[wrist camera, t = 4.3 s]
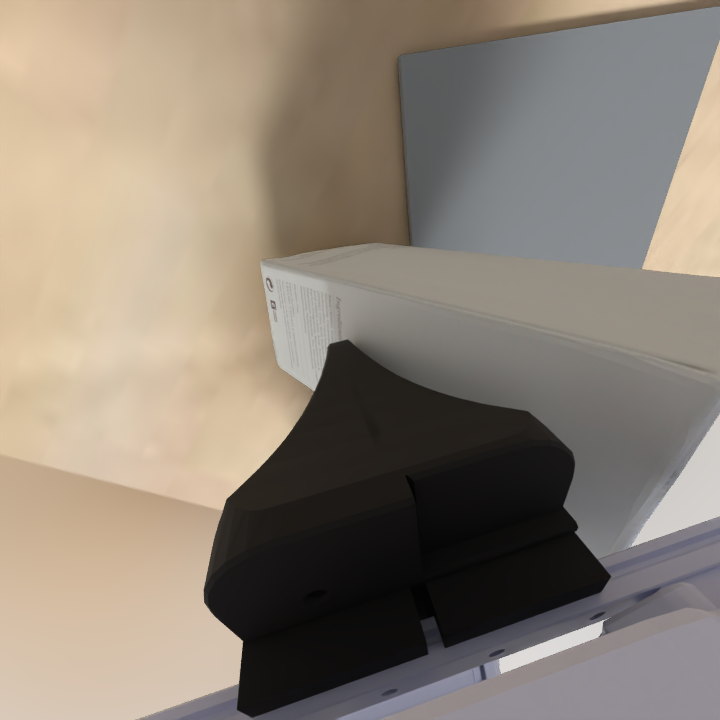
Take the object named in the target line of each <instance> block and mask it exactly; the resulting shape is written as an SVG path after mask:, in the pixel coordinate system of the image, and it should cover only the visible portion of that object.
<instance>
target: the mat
mask: <svg viewBox="0 0 720 720" xmlns="http://www.w3.org/2000/svg"><path fill="white" fill-rule="evenodd" d="M719 40H720V6H717V7H711V8H704V9H698V10H691V11H685V12H678V13H672V14H665V15H659V16H652V17H646V18H639V19H633V20H626V21H620V22H613V23H607V24H600V25H594V26H587V27H581V28H574V29H567V30H561V31H554V32H548V33H541V34H535V35H528V36H522V37H515V38H509V39H502V40H496V41H489V42H483V43H476V44H470V45H463V46H457V47H450V48H444V49H437V50H431V51H424V52H418V53H411V54H405V55H400V56H399V57H398V70H399V84H400V99H401V114H402V129H403V144H404V159H405V174H406V188H407V203H408V218H409V233H410V246H412V247H422V248H433V249H442V250H452V251H462V252H472V253H482V254H492V255H501V256H511V257H521V258H531V259H541V260H551V261H561V262H571V263H581V264H591V265H601V266H612V267H622V268H633V269H642V266H643V263H644V260H645V257H646V254H647V252H648V249H649V246H650V243H651V240H652V237H653V234H654V231H655V228H656V225H657V222H658V219H659V216H660V213H661V210H662V207H663V204H664V202H665V199H666V196H667V193H668V190H669V187H670V184H671V181H672V178H673V175H674V172H675V169H676V166H677V163H678V160H679V157H680V155H681V152H682V149H683V146H684V143H685V140H686V137H687V134H688V131H689V128H690V125H691V122H692V119H693V116H694V113H695V110H696V108H697V105H698V102H699V99H700V96H701V93H702V90H703V87H704V84H705V81H706V78H707V75H708V72H709V69H710V66H711V63H712V60H713V58H714V55H715V52H716V49H717V46H718V43H719Z"/></svg>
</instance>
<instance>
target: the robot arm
mask: <svg viewBox="0 0 720 720" xmlns="http://www.w3.org/2000/svg"><path fill="white" fill-rule="evenodd" d="M574 470H575V459H574V455H573V452H572V451H571V450H570V449H569V448H568V447H567V446H566V445H565V444H564V443H563V442H562V441H561V440H560V439H559V438H558V437H557V436H556V435H555V434H554V433H553V432H551V431H550V430H549V429H548V428H547V427H546V426H545V425H544V424H543V423H542V422H540V421H539V420H538V419H537V418H536V417H535V416H533V415H532V414H531V413H530V412H528V411H524V410H518V409H512V408H506V407H500V406H494V405H488V404H483V403H478V402H474V401H470V400H465V399H461V398H457V397H454V396H450V395H447V394H444V393H441V392H438V391H435V390H432V389H429V388H426V387H423V386H421V385H418V384H416V383H414V382H411V381H409V380H407V379H405V378H403V377H400V376H399V375H397V374H395V373H393V372H391V371H390V370H388V369H386V368H385V367H383V366H382V365H380V364H379V363H377V362H376V361H374V360H373V359H371V358H370V357H369V356H367V355H366V354H365V353H363V352H362V351H361V350H360V349H359V348H357V347H356V346H355V345H354V344H353V343H352V342H351V341H349V340H348V339H347V340H343V341H339V342H335V343H331V344H329V346H328V347H327V356H326V360H325V364H324V367H323V371H322V374H321V377H320V379H319V382H318V384H317V386H316V389H315V391H314V394H313V396H312V398H311V400H310V402H309V403H308V405H307V407H306V409H305V411H304V412H303V414H302V416H301V417H300V419H299V420H298V422H297V423H296V425H295V426H294V428H293V429H292V431H291V432H290V433H289V435H288V436H287V437H286V439H285V440H284V441H283V442H282V444H281V445H280V446H279V447H278V448H277V450H276V451H275V452H274V453H273V454H272V455H271V456H270V457H269V459H268V460H267V461H266V462H265V463H264V464H263V465H262V466H261V467H260V468H259V469H258V470H257V471H256V472H255V473H254V474H253V475H252V476H251V477H250V478H249V479H248V480H247V481H246V482H245V483H244V484H242V485H241V486H240V487H239V488H238V489H237V490H236V491H235V492H234V493H233V494H232V495H231V496H230V497H229V498H227V500H226V503H225V506H224V510H223V513H222V516H221V519H220V521H219V524H218V528H217V531H216V535H215V539H214V542H213V547H212V552H211V557H210V562H209V567H208V572H207V577H206V582H205V587H204V603H205V604H206V606H207V607H208V608H209V610H210V611H211V613H212V614H213V615H214V616H215V617H216V618H217V619H218V620H220V621H221V622H222V623H223V624H224V625H226V627H228V628H229V629H230V630H231V631H232V632H233V633H235V634H236V635H237V636H238V637H239V638H240V639H241V640H243V648H242V660H241V669H240V681H239V684H237V685H234V686H232V687H229V688H226V689H223V690H220V691H217V692H214V693H211V694H208V695H206V696H203V697H200V698H197V699H194V700H191V701H189V702H185V703H183V704H180V705H177V706H174V707H171V708H168V709H165V710H163V711H160V712H157V713H154V714H151V715H148V716H145V717H143V718H140V719H137V720H720V517H717V518H714V519H711V520H708V521H705V522H702V523H700V524H697V525H694V526H691V527H688V528H685V529H682V530H679V531H677V532H674V533H671V534H668V535H665V536H662V537H659V538H656V539H654V540H651V541H648V542H645V543H642V544H639V545H636V546H634V547H631V548H628V549H625V550H622V551H619V552H616V553H613V554H610V555H608V556H605V557H602V558H599V559H597V558H596V557H595V556H594V555H593V553H592V552H591V551H590V550H589V549H588V547H587V546H586V545H585V544H584V543H583V541H582V540H581V539H580V538H579V537H578V535H577V534H576V533H575V531H577V529H578V525H577V522H576V521H575V520H574V518H573V517H572V516H571V515H570V514H569V513H568V511H567V510H566V509H565V508H564V507H563V505H564V502H565V499H566V497H567V494H568V491H569V488H570V485H571V482H572V480H573V475H574ZM610 617H611V618H610ZM608 618H609V619H608ZM605 619H607V620H606V621H604V622H603V629H602V633H601V635H600V636H599V637H598V638H596V639H593V640H590V641H588V642H585V643H582V644H580V645H577V646H575V647H572V648H569V649H567V650H564V651H561V652H558V653H556V654H553V655H550V656H548V657H545V658H543V659H540V660H537V661H535V662H532V663H530V664H527V665H524V666H521V667H519V668H516V669H513V670H511V671H508V672H505V673H503V674H501V672H500V669H499V659H500V658H502V657H505V656H508V655H510V654H513V653H516V652H518V651H521V650H524V649H527V648H529V647H532V646H535V645H537V644H540V643H543V642H545V641H548V640H551V639H553V638H556V637H559V636H562V635H564V634H567V633H570V632H572V631H575V630H578V629H581V628H583V627H586V626H589V625H591V624H594V623H597V622H599V621H602V620H605Z"/></svg>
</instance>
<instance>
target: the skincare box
mask: <svg viewBox="0 0 720 720" xmlns="http://www.w3.org/2000/svg"><path fill="white" fill-rule="evenodd" d="M260 265H261V272H262V279H263V285H264V289H265V294H266V300H267V307H268V313H269V319H270V327H271V333H272V338H273V344H274V350H275V357H276V361H277V363H278V365H279V367H280V368H281V369H282V370H284V371H285V372H287V373H288V374H290V375H291V376H293V377H294V378H296V379H297V380H298V381H300V382H301V383H303V384H304V385H306V386H307V387H309V388H310V389H311V390H313V391H315V389H316V386H317V384H318V382H319V379H320V377H321V374H322V371H323V367H324V364H325V360H326V356H327V347H328V346H329V344H331V343H335V342H339V341H343V340H347V339H348V340H349V341H351V342H352V343H353V344H354V345H355V346H356V347H357V348H359V349H360V350H361V351H362V352H363V353H365V354H366V355H367V356H369V357H370V358H371V359H373V360H374V361H376V362H377V363H379V364H380V365H382V366H383V367H385V368H386V369H388V370H390V371H391V372H393V373H395V374H397V375H399V376H400V377H403V378H405V379H407V380H409V381H411V382H414V383H416V384H418V385H421V386H423V387H426V388H429V389H432V390H435V391H438V392H441V393H444V394H447V395H450V396H454V397H457V398H461V399H465V400H470V401H474V402H478V403H483V404H488V405H494V406H500V407H506V408H512V409H518V410H524V411H528V412H530V413H531V414H532V415H533V416H535V417H536V418H537V419H538V420H539V421H540V422H542V423H543V424H544V425H545V426H546V427H547V428H548V429H549V430H550V431H551V432H553V433H554V434H555V435H556V436H557V437H558V438H559V439H560V440H561V441H562V442H563V443H564V444H565V445H566V446H567V447H568V448H569V449H570V450H571V451H572V452H573V455H574V459H575V470H574V475H573V480H572V482H571V485H570V488H569V491H568V494H567V497H566V499H565V502H564V505H563V507H564V508H565V509H566V510H567V511H568V513H569V514H570V515H571V516H572V517H573V518H574V520H575V521H576V522H577V525H578V529H577V531H575V533H576V534H577V535H578V537H579V538H580V539H581V540H582V541H583V543H584V544H585V545H586V546H587V547H588V549H589V550H590V551H591V552H592V553H593V555H594V556H595V557H596V558H597V559H599V558H602V557H605V556H608V555H610V554H613V553H616V552H619V551H622V550H625V549H628V548H630V546H631V545H632V543H633V542H634V540H635V538H636V537H637V535H638V533H639V532H640V531H641V529H642V527H643V526H644V524H645V523H646V521H647V520H648V519H649V517H650V516H651V514H652V513H653V512H654V510H655V509H656V507H657V506H658V505H659V503H660V502H661V500H662V499H663V498H664V496H665V495H666V493H667V492H668V490H669V489H670V488H671V486H672V485H673V484H674V482H675V481H676V479H677V478H678V476H679V475H680V473H681V472H682V470H683V469H684V467H685V466H686V464H687V463H688V461H689V460H690V458H691V457H692V455H693V454H694V452H695V450H696V449H697V447H698V446H699V444H700V443H701V441H702V440H703V438H704V437H705V435H706V434H707V432H708V431H709V429H710V428H711V426H712V425H713V423H714V421H715V420H716V418H717V416H718V415H719V413H720V277H709V276H699V275H689V274H679V273H669V272H660V271H652V270H643V269H633V268H622V267H612V266H601V265H591V264H581V263H571V262H561V261H551V260H541V259H531V258H521V257H511V256H501V255H492V254H482V253H472V252H462V251H452V250H442V249H433V248H422V247H412V246H403V245H392V244H383V243H368V244H361V245H353V246H345V247H339V248H333V249H326V250H319V251H312V252H307V253H302V254H297V255H293V256H289V257H282V258H272V259H264V260H261V262H260Z"/></svg>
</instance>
